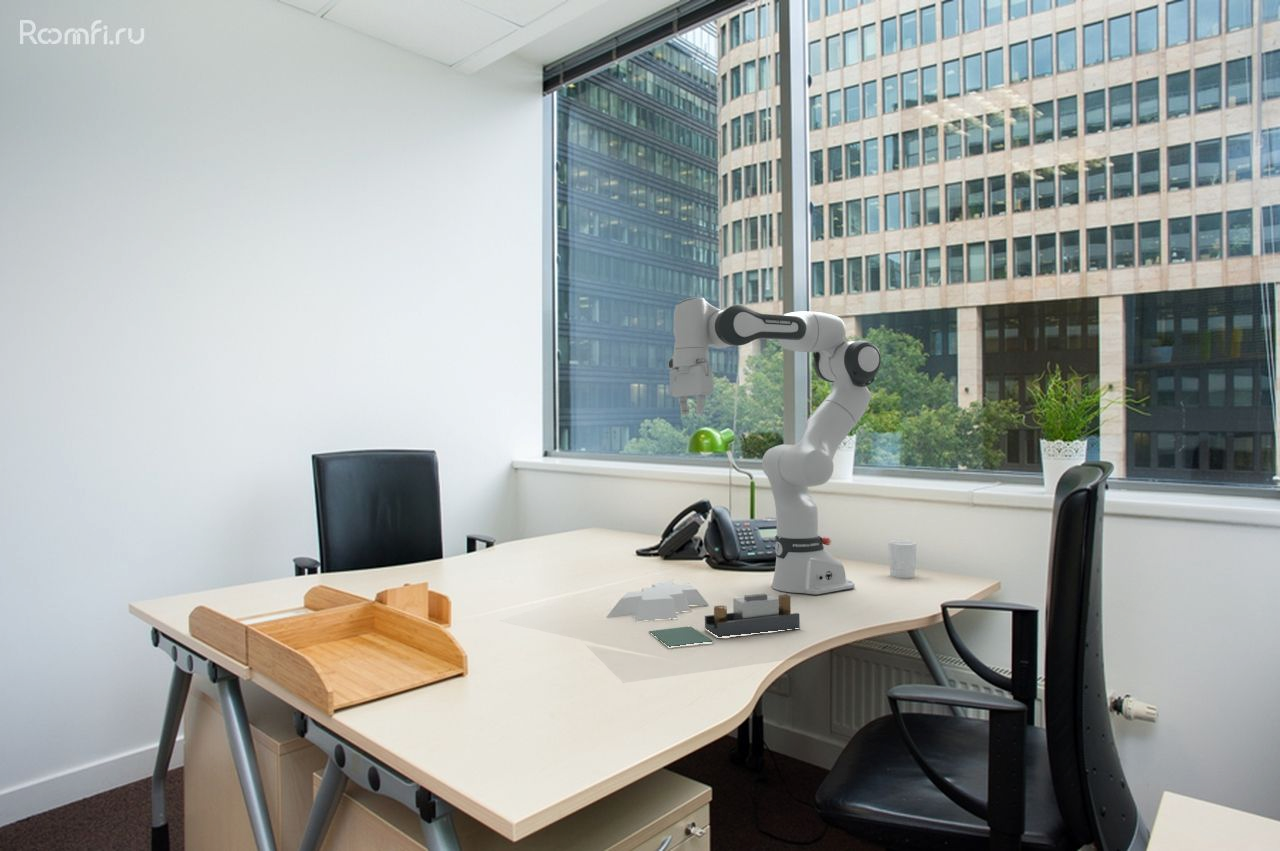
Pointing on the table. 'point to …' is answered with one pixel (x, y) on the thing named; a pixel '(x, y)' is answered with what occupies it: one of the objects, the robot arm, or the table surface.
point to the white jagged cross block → (658, 601)
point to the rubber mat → (680, 636)
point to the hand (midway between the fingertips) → (691, 413)
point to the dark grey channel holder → (752, 621)
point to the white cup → (902, 558)
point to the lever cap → (755, 606)
